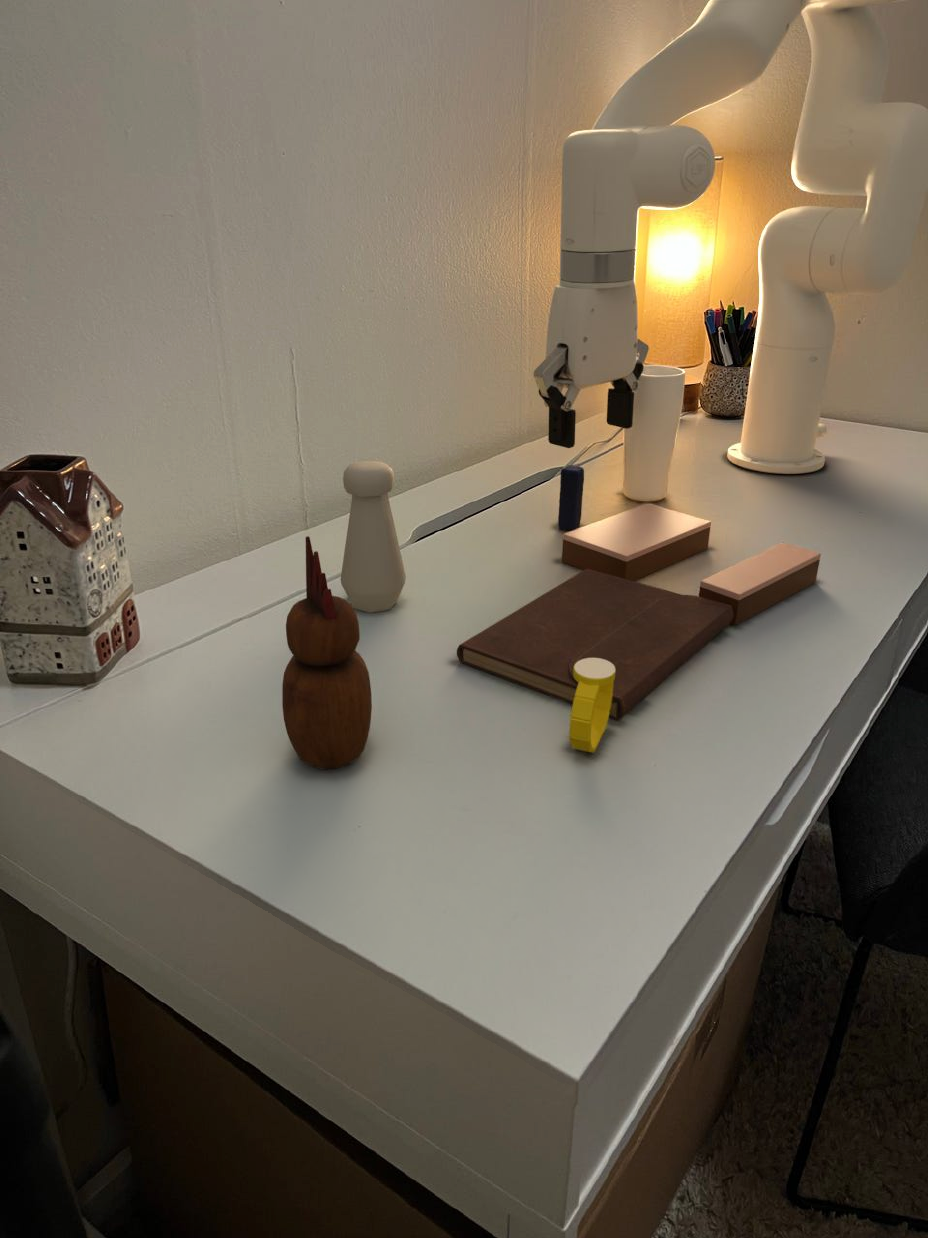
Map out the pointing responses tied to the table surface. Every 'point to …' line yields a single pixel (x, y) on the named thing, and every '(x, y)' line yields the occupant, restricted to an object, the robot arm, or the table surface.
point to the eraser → (570, 497)
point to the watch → (591, 702)
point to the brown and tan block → (636, 542)
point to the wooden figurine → (325, 676)
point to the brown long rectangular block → (762, 580)
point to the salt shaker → (371, 540)
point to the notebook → (598, 637)
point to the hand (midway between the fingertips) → (591, 435)
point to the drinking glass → (652, 432)
